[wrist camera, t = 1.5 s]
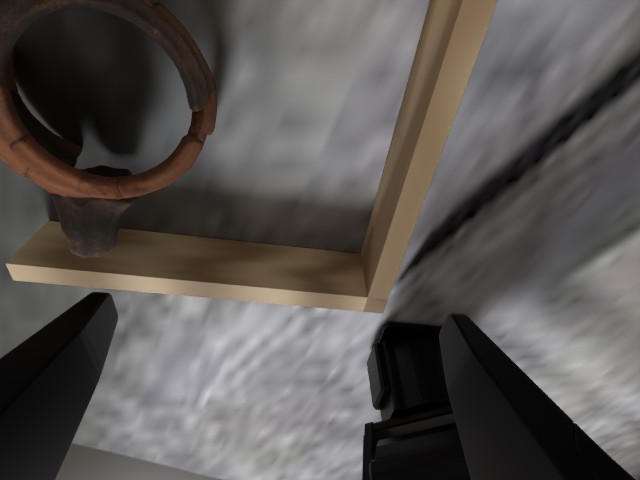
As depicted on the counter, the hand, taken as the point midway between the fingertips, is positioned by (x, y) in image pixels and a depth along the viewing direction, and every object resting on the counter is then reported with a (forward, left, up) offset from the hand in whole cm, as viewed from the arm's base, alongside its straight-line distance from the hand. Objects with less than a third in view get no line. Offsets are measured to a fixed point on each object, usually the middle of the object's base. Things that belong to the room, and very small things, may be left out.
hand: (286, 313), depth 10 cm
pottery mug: (+9, 0, -13) cm, 16 cm away
